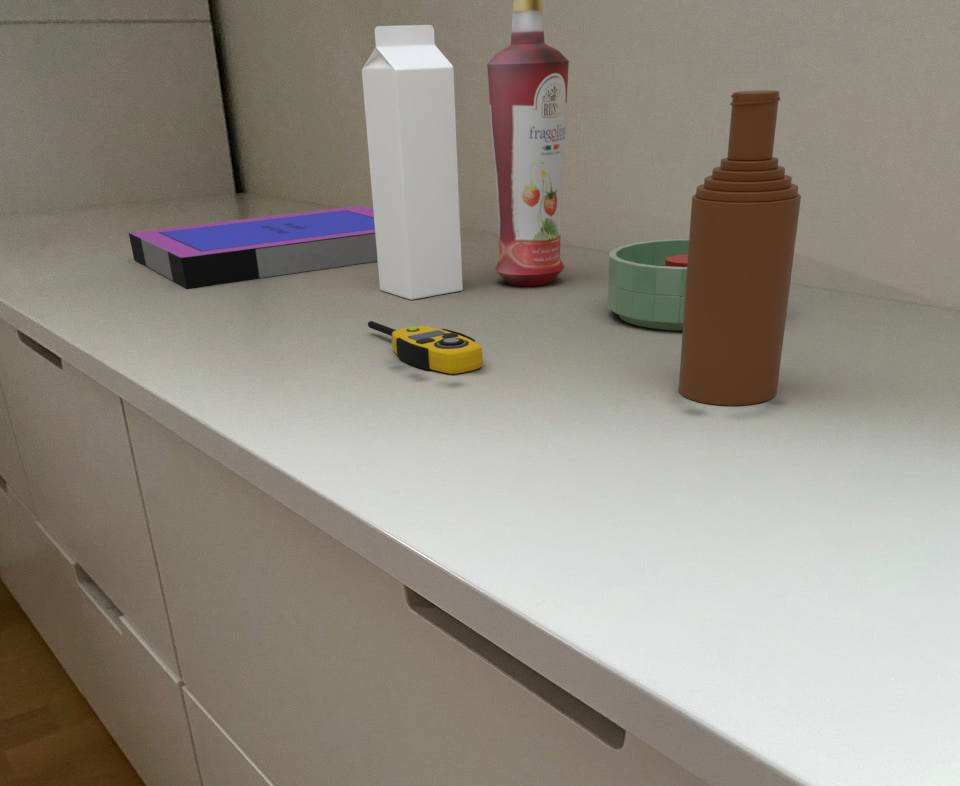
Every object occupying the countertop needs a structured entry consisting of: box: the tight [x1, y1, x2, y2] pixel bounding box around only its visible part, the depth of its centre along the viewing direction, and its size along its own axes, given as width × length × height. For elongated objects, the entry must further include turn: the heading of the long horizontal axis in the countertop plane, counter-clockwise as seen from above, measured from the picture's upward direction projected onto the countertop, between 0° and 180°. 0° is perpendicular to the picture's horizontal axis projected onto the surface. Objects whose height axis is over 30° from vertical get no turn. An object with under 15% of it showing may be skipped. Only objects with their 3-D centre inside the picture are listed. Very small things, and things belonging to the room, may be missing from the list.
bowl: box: [607, 238, 689, 332], centre depth 83 cm, size 13×13×5 cm
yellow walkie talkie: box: [367, 320, 484, 375], centre depth 76 cm, size 5×2×15 cm
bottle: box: [678, 90, 802, 407], centre depth 61 cm, size 6×6×18 cm
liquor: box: [486, 0, 570, 287], centre depth 90 cm, size 7×7×28 cm
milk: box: [361, 24, 464, 301], centre depth 90 cm, size 6×6×22 cm
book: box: [128, 205, 378, 290], centre depth 114 cm, size 21×3×30 cm
